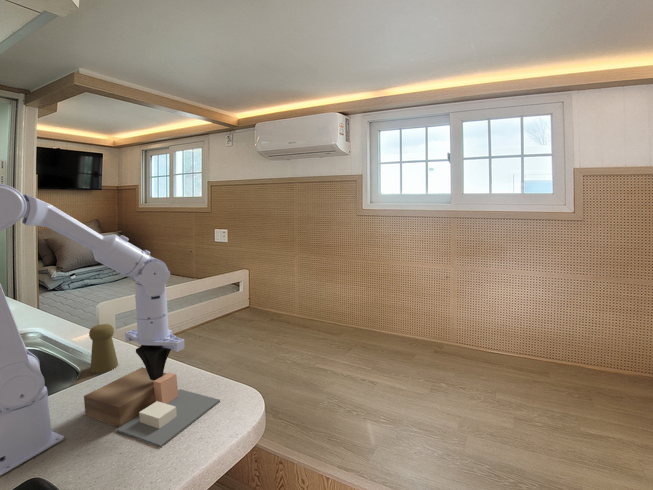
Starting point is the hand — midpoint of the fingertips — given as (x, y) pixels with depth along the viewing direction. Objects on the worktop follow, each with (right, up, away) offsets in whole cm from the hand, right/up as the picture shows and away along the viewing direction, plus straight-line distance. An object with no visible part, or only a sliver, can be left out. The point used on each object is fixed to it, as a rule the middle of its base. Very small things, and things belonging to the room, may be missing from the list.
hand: (156, 378), depth 73 cm
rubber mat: (+5, -5, -5) cm, 9 cm away
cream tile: (+4, -3, -7) cm, 9 cm away
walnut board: (-4, -5, -1) cm, 7 cm away
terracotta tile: (+1, -2, 0) cm, 2 cm away
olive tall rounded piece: (-21, -3, +15) cm, 26 cm away
